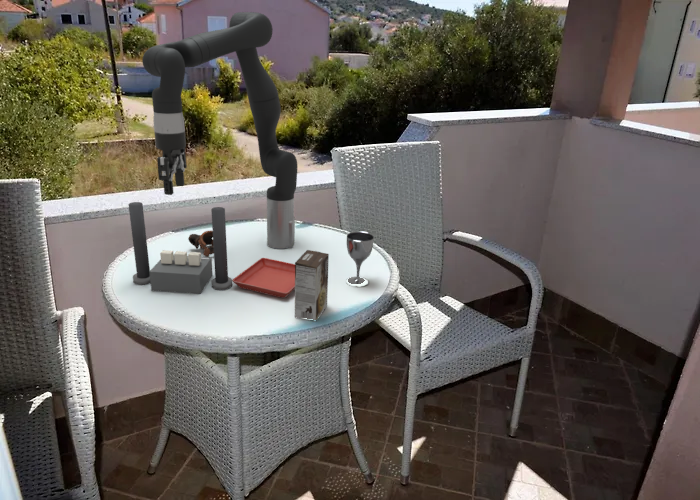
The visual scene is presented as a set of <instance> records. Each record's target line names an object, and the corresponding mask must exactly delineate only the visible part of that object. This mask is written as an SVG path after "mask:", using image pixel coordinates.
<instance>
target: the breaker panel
mask: <svg viewBox="0 0 700 500" xmlns="http://www.w3.org/2000/svg"><path fill="white" fill-rule="evenodd" d="M187 259H188V255H187ZM174 260H175V258H174ZM188 261H189V260H188ZM201 262H202V264H200V265H199V266H197V265H189V264H187V263H186V265H181V264H175V263H172V264H165V263H161V259H159V261H158V262H156V264H155V265H154V266H153V267H152V268H151V269H150V271H149V274H150V283H151V284H150V290H151V291H152V292H164V293H165V292H166V293H167V292H168V293H180V294H182V293H183V294H194V295H195V294H197V295H198V294H199V295H201V294H202V292H203V291H204V289H206V286H207V285H208V283H209V282H210V281H211V280H212V278H213V259H212V257H210V256H208V257H206V256H201Z"/></svg>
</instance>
